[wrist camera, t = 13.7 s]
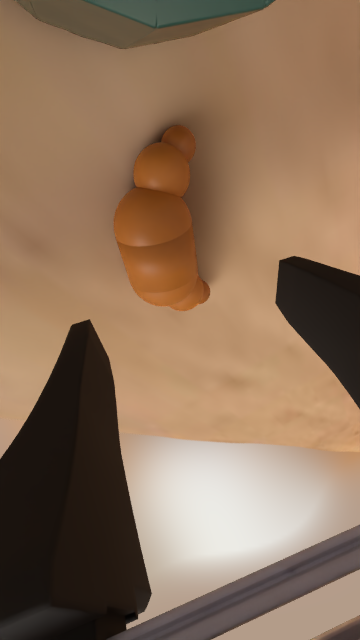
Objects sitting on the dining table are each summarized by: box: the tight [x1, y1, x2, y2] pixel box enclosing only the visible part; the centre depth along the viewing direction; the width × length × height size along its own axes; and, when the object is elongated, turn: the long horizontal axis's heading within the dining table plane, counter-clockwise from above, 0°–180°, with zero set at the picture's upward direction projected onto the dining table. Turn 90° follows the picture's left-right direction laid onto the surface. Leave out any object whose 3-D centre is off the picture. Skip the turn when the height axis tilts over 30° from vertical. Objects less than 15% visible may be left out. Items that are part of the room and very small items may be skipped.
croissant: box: [114, 125, 210, 311], centre depth 15 cm, size 10×5×4 cm, turn 9°
